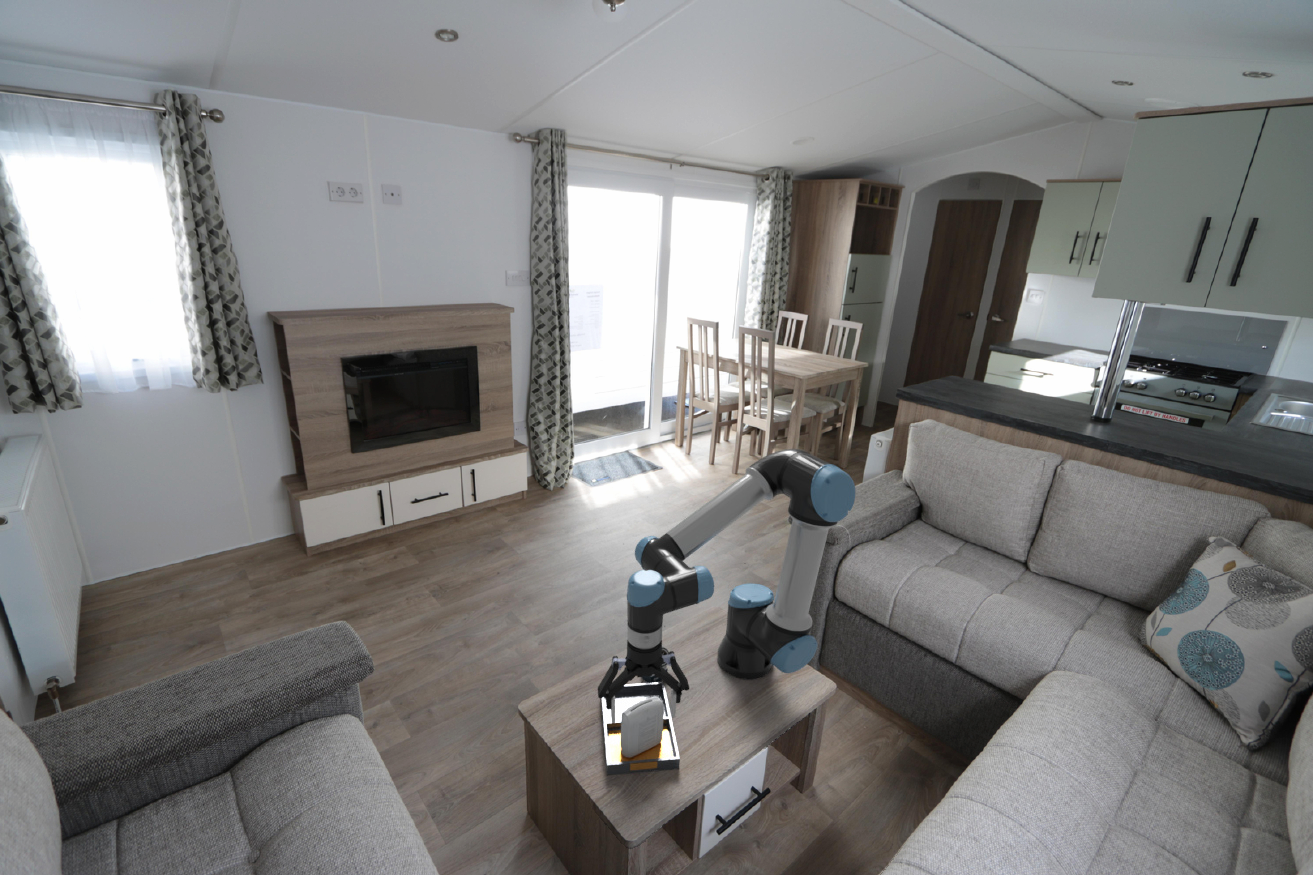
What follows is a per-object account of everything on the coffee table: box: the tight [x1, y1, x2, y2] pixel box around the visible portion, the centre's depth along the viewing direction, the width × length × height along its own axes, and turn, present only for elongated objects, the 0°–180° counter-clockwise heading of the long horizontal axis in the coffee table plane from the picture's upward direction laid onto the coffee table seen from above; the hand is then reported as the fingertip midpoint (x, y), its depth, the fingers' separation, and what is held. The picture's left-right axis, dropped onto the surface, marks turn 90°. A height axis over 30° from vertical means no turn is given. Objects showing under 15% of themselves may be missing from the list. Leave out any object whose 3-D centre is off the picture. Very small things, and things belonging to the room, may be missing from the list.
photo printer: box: [620, 697, 664, 758], centre depth 139 cm, size 10×4×12 cm, turn 123°
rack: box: [600, 681, 681, 776], centre depth 146 cm, size 16×24×3 cm
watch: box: [641, 644, 670, 683], centre depth 162 cm, size 6×8×11 cm
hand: (643, 715), depth 138 cm, fingers open, 13 cm apart
